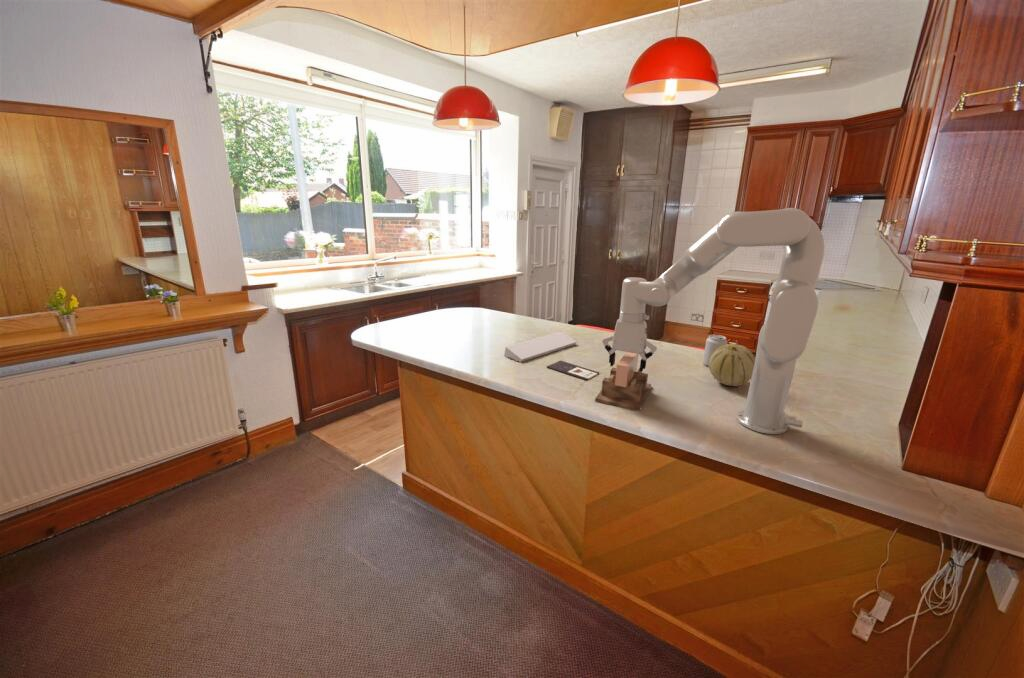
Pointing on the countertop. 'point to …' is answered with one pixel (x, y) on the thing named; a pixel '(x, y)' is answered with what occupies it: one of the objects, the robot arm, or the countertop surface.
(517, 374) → the countertop surface
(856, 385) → the countertop surface
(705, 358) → the can
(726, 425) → the countertop surface
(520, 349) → the decorative molding
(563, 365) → the chocolate bar
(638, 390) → the brown cradle stand
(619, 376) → the salmon pink rectangular block
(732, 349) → the cantaloupe
